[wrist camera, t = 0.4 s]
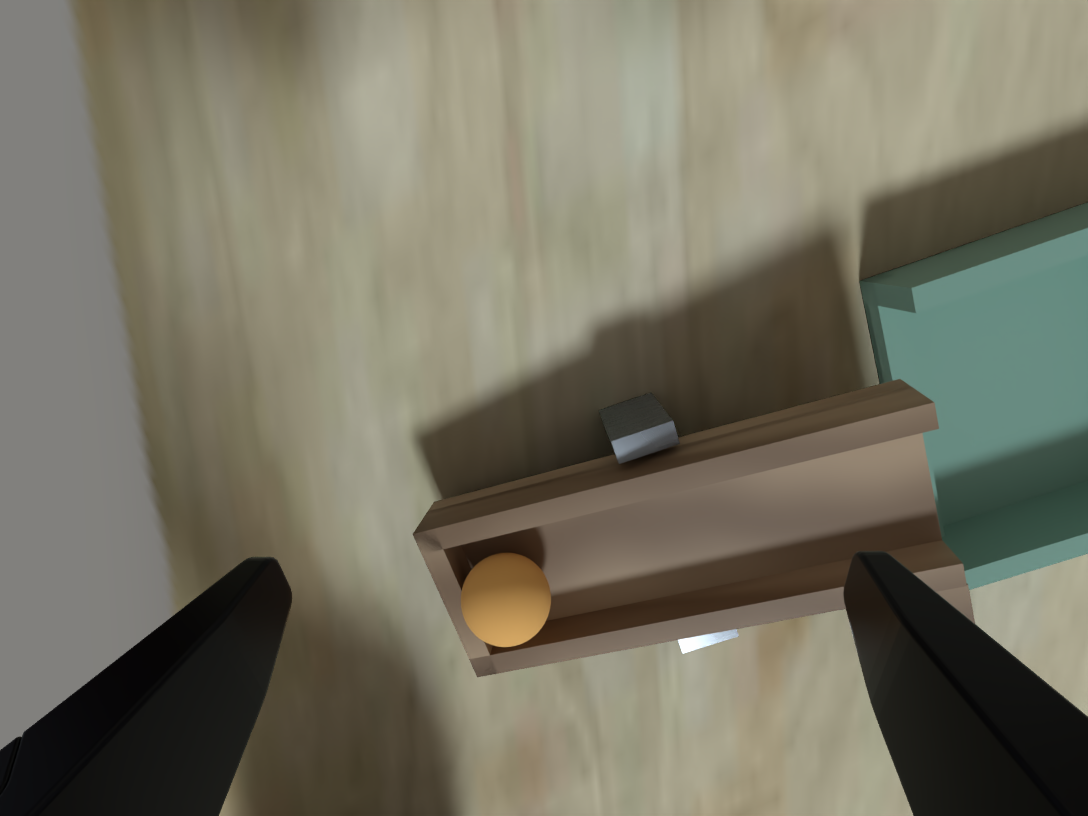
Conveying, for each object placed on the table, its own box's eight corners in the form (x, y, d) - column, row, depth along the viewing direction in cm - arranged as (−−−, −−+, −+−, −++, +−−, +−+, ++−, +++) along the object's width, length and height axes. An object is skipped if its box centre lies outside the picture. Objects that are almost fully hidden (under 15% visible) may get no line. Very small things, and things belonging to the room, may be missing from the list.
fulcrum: (709, 580, 24) (738, 636, 21) (661, 595, 24) (682, 653, 21) (650, 392, 22) (673, 420, 19) (598, 410, 22) (611, 441, 19)
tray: (1169, 468, 23) (1259, 500, 21) (913, 548, 24) (965, 590, 21) (1149, 180, 21) (1251, 171, 18) (859, 281, 21) (911, 288, 18)
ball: (565, 598, 22) (560, 656, 19) (488, 617, 22) (472, 676, 20) (537, 526, 21) (527, 575, 18) (458, 548, 22) (436, 598, 19)
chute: (974, 684, 22) (1011, 738, 20) (542, 750, 26) (533, 800, 23) (917, 374, 19) (954, 396, 16) (433, 502, 22) (412, 534, 20)
